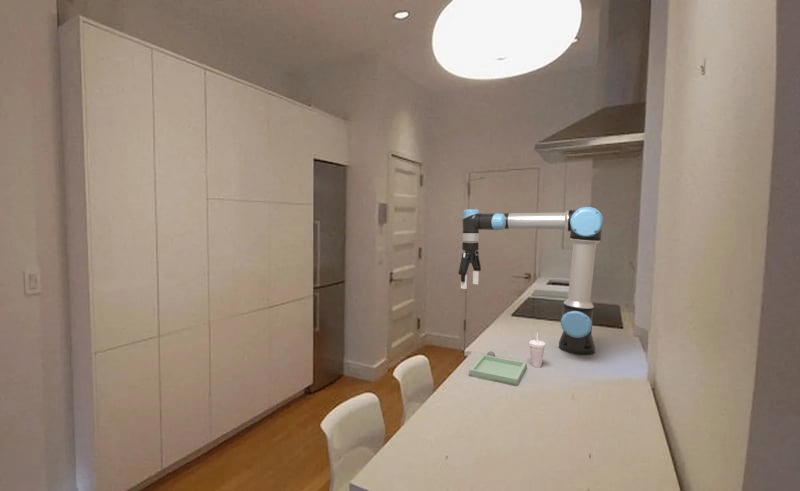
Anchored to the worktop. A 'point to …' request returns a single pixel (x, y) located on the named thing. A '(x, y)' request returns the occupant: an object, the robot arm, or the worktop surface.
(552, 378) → the worktop surface
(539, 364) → the smoothie
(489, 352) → the gray ball
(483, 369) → the tray
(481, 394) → the worktop surface
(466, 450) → the worktop surface
